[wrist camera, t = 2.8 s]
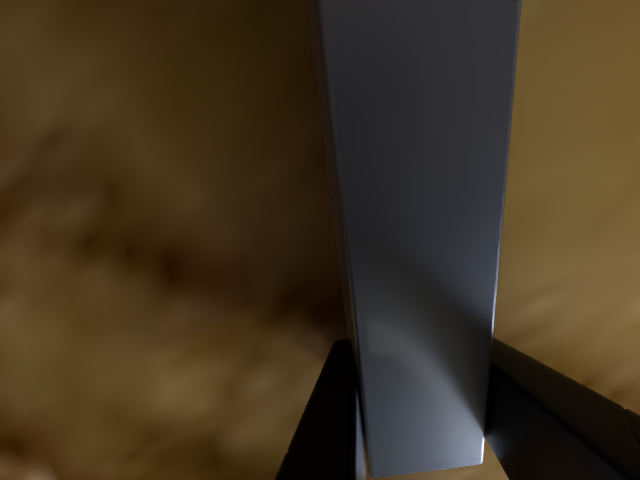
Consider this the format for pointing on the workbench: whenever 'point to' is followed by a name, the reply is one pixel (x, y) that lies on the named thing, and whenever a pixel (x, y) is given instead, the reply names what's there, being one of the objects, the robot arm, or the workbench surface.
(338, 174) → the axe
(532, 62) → the workbench surface
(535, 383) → the robot arm
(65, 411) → the workbench surface
